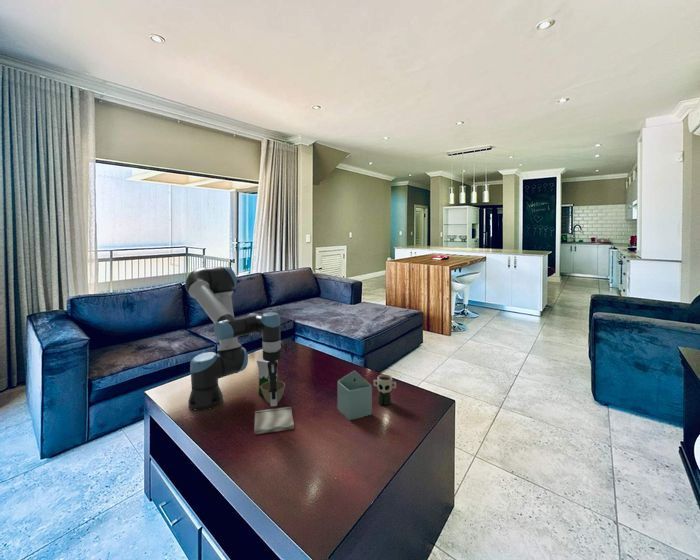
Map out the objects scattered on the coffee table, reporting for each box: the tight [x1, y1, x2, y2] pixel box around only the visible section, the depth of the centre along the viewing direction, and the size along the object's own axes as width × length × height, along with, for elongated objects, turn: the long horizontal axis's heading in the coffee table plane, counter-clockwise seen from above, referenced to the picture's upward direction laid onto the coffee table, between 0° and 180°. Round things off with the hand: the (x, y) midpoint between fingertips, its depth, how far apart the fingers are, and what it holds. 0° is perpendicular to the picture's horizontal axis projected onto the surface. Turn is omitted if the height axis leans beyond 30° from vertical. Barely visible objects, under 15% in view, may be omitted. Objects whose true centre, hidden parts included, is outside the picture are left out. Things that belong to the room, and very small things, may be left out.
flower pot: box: [261, 380, 286, 404], centre depth 142 cm, size 10×10×7 cm
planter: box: [337, 370, 373, 421], centre depth 147 cm, size 16×8×20 cm, turn 73°
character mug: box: [372, 373, 397, 406], centre depth 159 cm, size 11×7×13 cm, turn 77°
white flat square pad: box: [253, 406, 295, 435], centre depth 144 cm, size 16×16×1 cm
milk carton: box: [256, 356, 279, 396], centre depth 168 cm, size 9×9×20 cm
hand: (273, 399), depth 142 cm, fingers closed on flower pot, 10 cm apart
